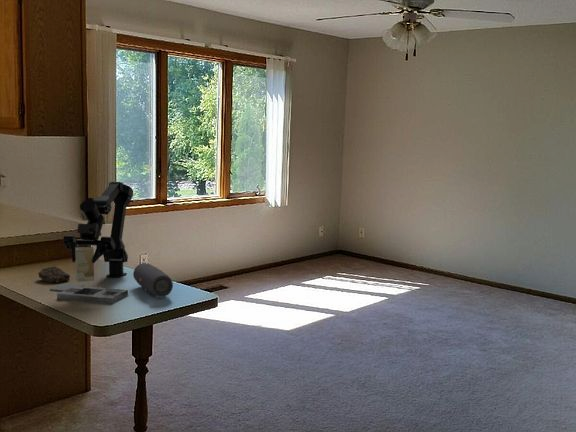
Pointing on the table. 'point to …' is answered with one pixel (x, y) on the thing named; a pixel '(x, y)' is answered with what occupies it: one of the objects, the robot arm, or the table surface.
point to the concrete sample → (53, 275)
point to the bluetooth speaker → (153, 280)
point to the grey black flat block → (98, 294)
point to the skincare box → (84, 264)
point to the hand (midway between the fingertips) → (83, 262)
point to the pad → (64, 287)
